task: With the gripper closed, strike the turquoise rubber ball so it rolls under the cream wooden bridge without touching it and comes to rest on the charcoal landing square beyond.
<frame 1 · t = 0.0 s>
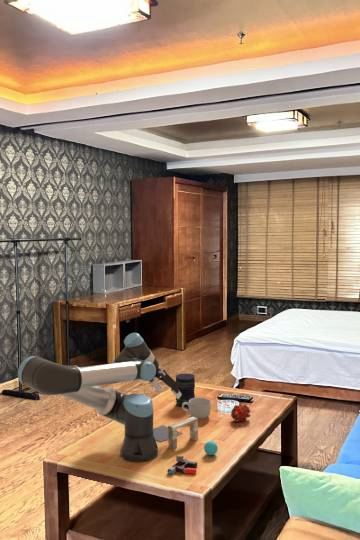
hand: (169, 393, 246), 15 cm above the table, tool tilted 35°, fingers open, 13 cm apart
storage jar: (185, 405, 275), on the table
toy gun: (184, 473, 203), on the table
bridge: (183, 442, 228), on the table
teacup: (196, 417, 258), on the table
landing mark: (161, 433, 239), on the table
ball: (210, 448, 217), on the table
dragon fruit: (240, 421, 252), on the table
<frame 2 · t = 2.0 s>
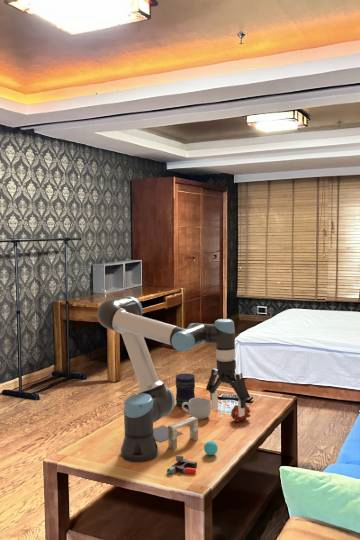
hand: (228, 412, 211), 19 cm above the table, tool pointing down, fingers open, 13 cm apart
nothing on the table moved.
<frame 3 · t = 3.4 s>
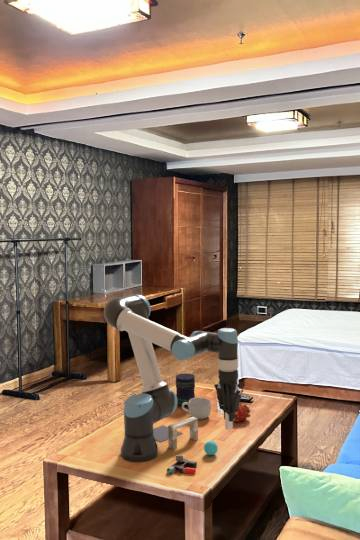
hand: (229, 428, 208), 14 cm above the table, tool pointing down, fingers closed
nothing on the table moved.
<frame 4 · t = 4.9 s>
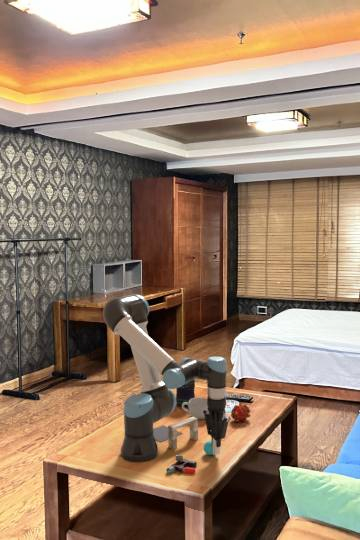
hand: (216, 453, 214), 1 cm above the table, tool pointing down, fingers closed
ball: (210, 447, 217), on the table, touching gripper
everything else where it was.
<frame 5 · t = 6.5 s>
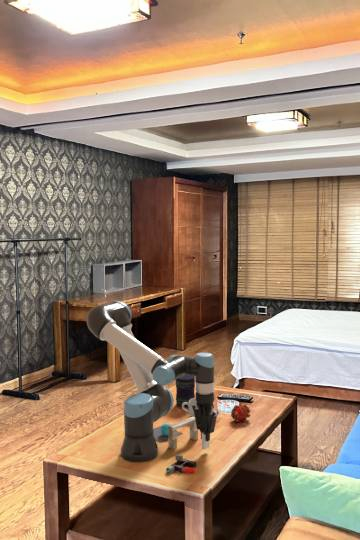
hand: (205, 447, 219), 2 cm above the table, tool pointing down, fingers closed
ball: (166, 429, 236), on the table
everything else where it was.
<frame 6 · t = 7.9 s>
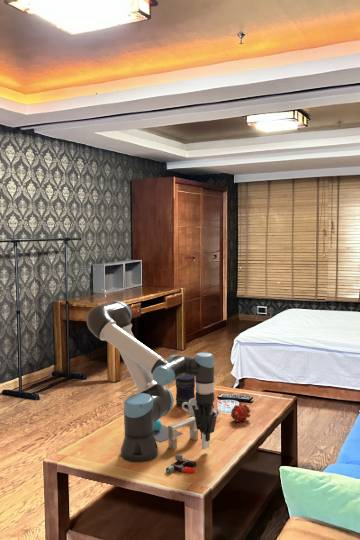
hand: (205, 447, 219), 2 cm above the table, tool pointing down, fingers closed
ball: (155, 425, 241), on the table
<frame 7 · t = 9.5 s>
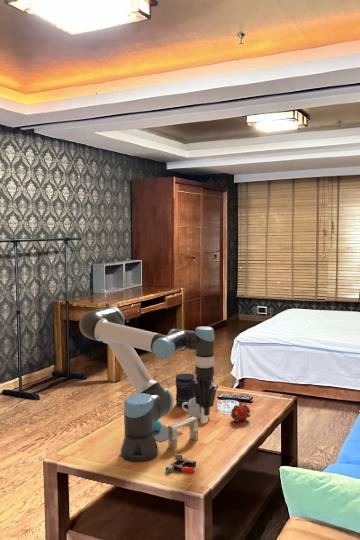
hand: (204, 422, 218), 13 cm above the table, tool pointing down, fingers closed
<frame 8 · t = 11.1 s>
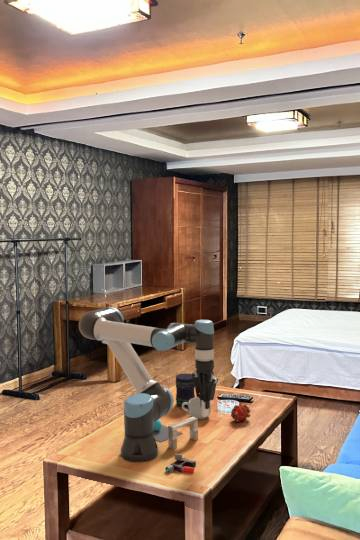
hand: (205, 415, 217), 15 cm above the table, tool pointing down, fingers closed
at the end: ball 4.2 cm from the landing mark (horizontally); ball never touched bridge; ball at rest at the end (0.0 cm/s) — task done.
